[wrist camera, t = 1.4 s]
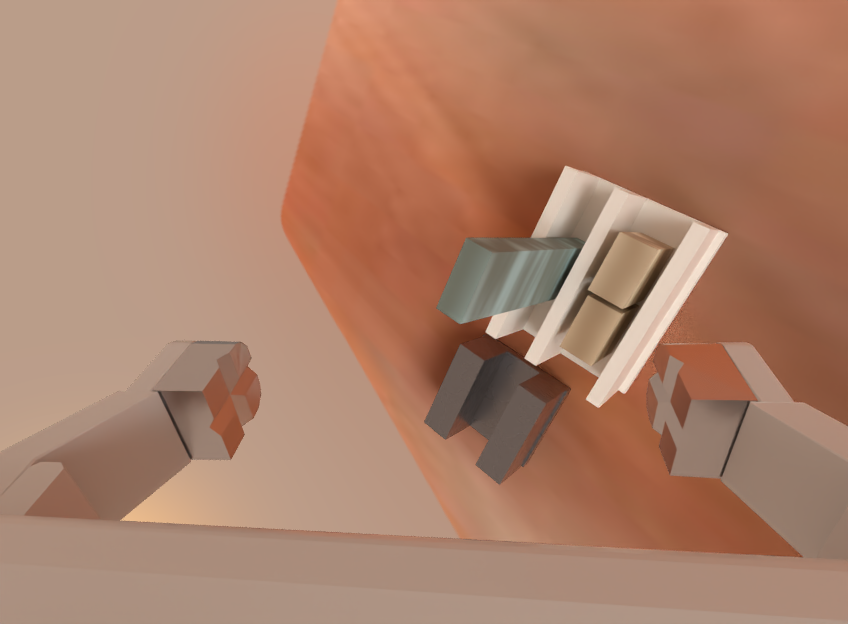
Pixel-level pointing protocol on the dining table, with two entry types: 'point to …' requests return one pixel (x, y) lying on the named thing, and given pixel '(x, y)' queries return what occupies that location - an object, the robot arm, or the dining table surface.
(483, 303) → the teal board
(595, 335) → the birch offcut
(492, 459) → the charcoal holder
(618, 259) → the pine offcut
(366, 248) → the dining table surface
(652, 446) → the dining table surface
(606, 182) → the white rack
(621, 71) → the dining table surface
